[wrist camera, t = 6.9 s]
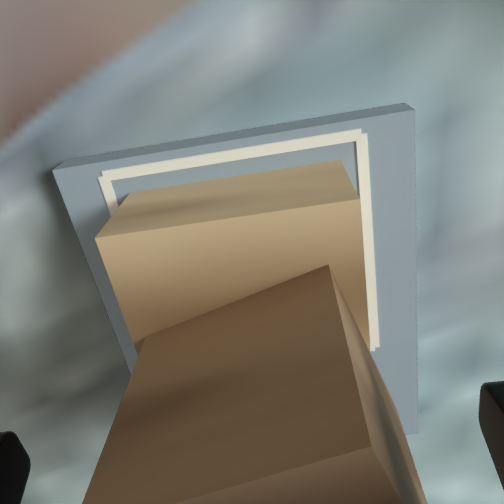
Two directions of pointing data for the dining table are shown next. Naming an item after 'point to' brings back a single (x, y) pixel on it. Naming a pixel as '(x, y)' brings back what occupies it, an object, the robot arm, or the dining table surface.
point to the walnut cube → (259, 410)
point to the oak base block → (232, 243)
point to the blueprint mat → (272, 158)
